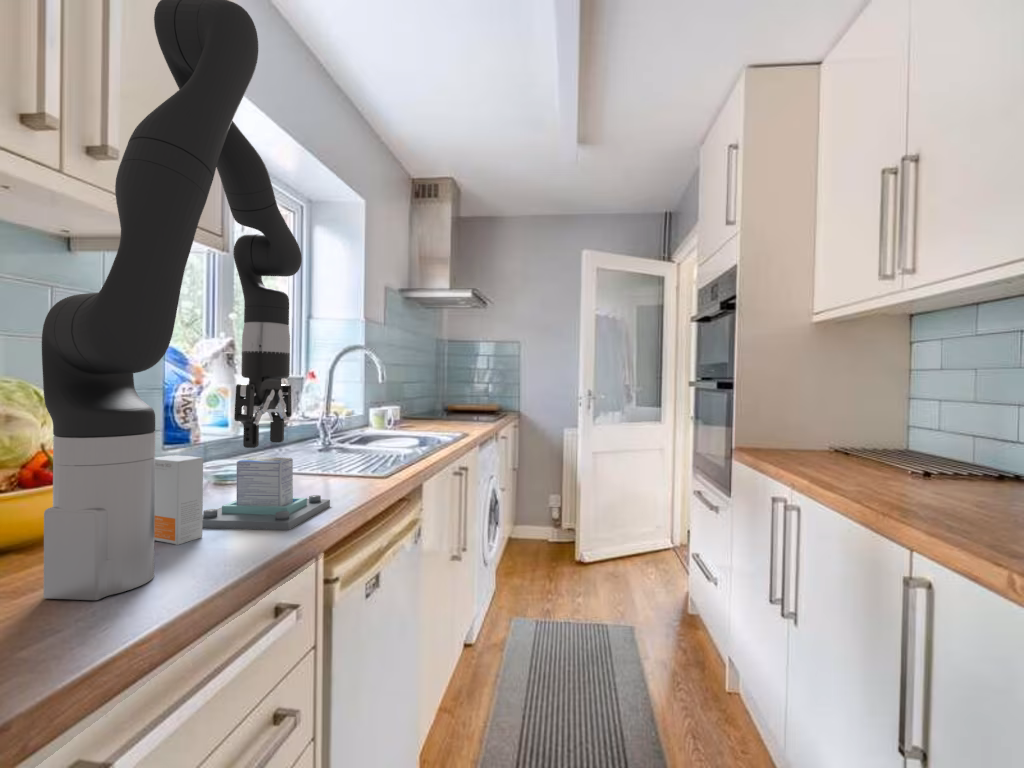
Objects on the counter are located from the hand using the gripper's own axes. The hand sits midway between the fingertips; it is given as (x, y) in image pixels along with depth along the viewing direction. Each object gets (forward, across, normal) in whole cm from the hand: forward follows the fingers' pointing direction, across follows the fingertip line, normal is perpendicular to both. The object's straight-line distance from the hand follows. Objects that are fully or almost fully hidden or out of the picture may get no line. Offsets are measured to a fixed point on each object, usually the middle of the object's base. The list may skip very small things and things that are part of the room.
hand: (264, 444), depth 91 cm
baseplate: (+12, 0, 0) cm, 12 cm away
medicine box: (+11, 0, 0) cm, 11 cm away
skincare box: (+13, -14, +6) cm, 20 cm away
